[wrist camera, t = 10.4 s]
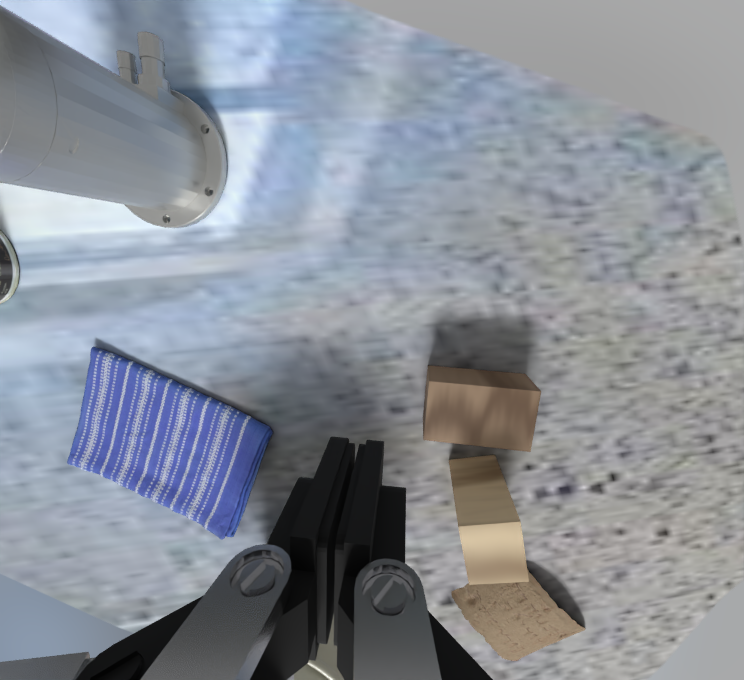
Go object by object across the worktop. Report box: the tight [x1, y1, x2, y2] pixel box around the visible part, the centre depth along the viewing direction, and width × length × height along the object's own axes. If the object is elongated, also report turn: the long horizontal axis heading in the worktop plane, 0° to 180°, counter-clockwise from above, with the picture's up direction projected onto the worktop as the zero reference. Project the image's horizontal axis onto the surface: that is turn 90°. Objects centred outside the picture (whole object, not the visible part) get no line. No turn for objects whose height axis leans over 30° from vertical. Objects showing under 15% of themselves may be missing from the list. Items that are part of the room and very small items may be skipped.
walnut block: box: [423, 365, 541, 452], centre depth 35 cm, size 6×5×10 cm
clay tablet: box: [452, 569, 585, 661], centre depth 42 cm, size 14×10×3 cm
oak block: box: [449, 455, 529, 585], centre depth 34 cm, size 6×5×10 cm
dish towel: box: [67, 347, 273, 539], centre depth 43 cm, size 17×24×3 cm
